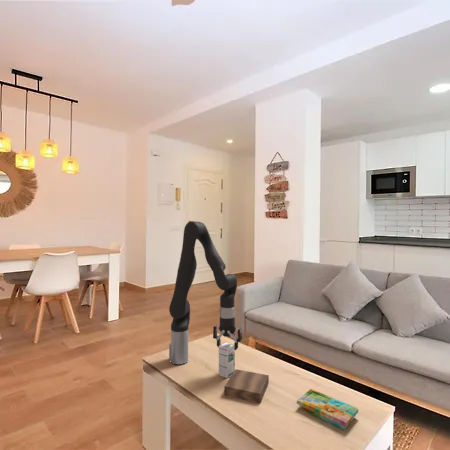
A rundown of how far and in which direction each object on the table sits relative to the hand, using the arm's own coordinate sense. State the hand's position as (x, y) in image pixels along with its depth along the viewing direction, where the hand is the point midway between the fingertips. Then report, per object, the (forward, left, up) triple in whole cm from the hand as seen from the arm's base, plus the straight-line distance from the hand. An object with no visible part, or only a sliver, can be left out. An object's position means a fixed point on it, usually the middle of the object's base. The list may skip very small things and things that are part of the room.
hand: (227, 348), depth 151 cm
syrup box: (0, 0, -13) cm, 13 cm away
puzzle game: (+47, -14, -13) cm, 51 cm away
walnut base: (+13, -9, -13) cm, 20 cm away
